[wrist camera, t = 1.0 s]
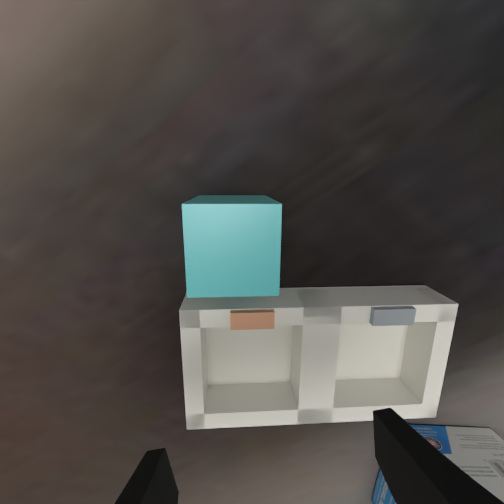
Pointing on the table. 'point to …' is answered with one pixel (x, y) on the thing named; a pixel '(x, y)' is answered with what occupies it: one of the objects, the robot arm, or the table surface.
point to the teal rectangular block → (232, 245)
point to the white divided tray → (314, 355)
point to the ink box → (461, 457)
